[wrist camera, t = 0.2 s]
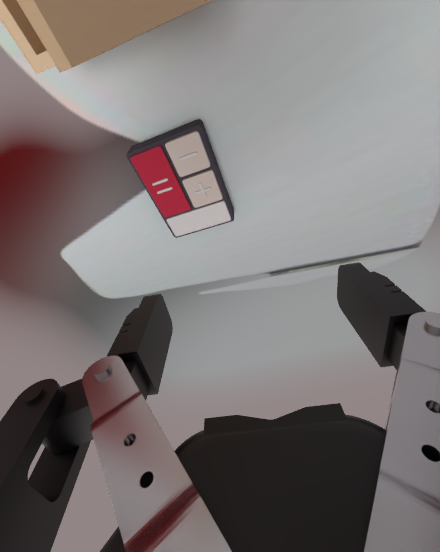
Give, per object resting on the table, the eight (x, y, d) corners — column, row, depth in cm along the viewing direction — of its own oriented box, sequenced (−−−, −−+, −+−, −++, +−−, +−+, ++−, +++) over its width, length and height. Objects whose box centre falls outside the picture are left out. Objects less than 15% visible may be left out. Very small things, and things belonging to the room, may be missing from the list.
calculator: (199, 125, 31) (235, 223, 41) (201, 116, 34) (234, 209, 44) (123, 156, 34) (174, 241, 44) (131, 144, 37) (177, 226, 47)
